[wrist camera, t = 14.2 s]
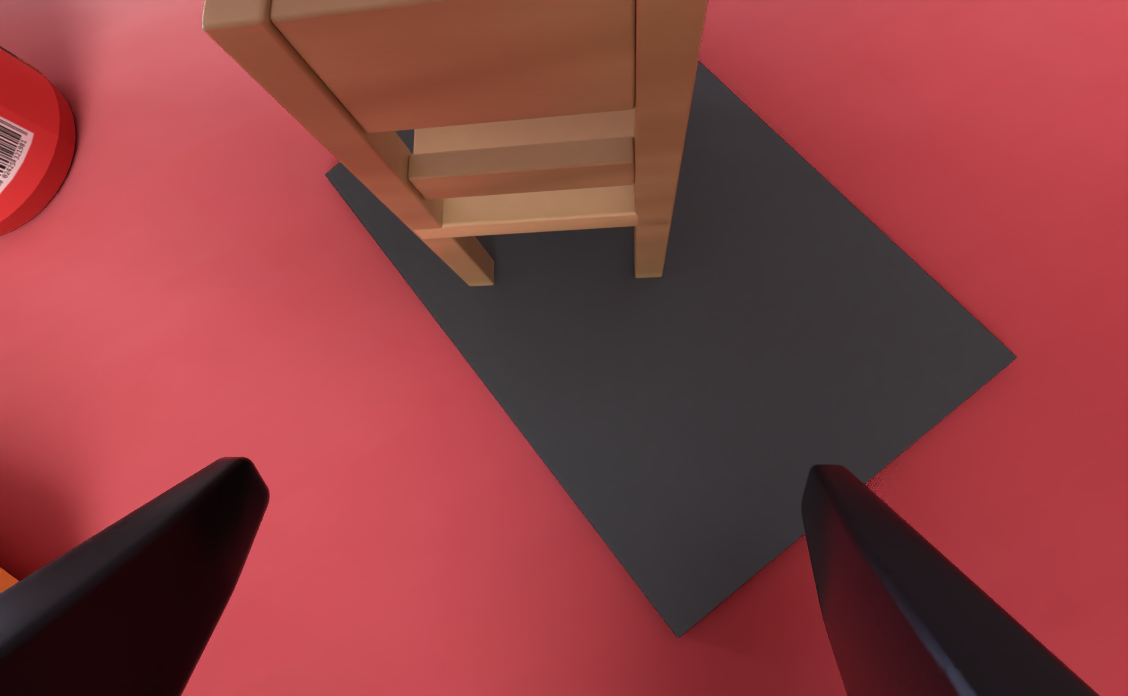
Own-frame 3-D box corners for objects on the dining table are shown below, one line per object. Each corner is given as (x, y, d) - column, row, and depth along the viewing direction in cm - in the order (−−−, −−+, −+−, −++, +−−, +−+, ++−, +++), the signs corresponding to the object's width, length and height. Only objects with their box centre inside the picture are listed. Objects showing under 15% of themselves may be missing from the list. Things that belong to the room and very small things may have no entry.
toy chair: (662, 277, 17) (715, -36, 6) (469, 286, 18) (197, 28, 7) (654, 98, 18) (685, -439, 7) (473, 115, 19) (249, -344, 8)
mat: (1010, 358, 16) (1017, 357, 15) (677, 635, 15) (678, 639, 15) (591, -34, 20) (590, -40, 20) (329, 178, 20) (324, 174, 20)
